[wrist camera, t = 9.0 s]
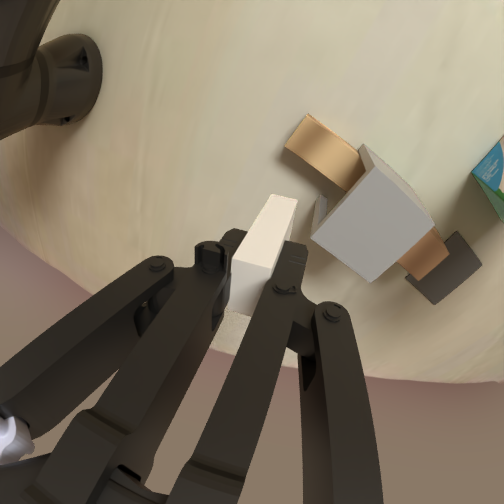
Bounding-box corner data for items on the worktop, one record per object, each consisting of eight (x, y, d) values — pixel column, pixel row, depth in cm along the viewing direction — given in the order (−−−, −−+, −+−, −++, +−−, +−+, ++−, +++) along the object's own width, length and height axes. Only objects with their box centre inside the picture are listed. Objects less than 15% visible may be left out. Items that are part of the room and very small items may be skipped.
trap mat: (405, 277, 35) (405, 278, 35) (456, 231, 30) (457, 231, 29) (434, 304, 36) (434, 305, 36) (482, 264, 30) (482, 264, 30)
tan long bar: (288, 140, 30) (284, 145, 28) (308, 113, 28) (306, 116, 26) (390, 221, 32) (394, 233, 30) (412, 200, 30) (418, 210, 28)
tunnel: (315, 200, 33) (310, 238, 26) (363, 143, 28) (375, 166, 21) (364, 238, 34) (370, 283, 27) (412, 188, 29) (435, 224, 22)
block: (384, 230, 33) (392, 257, 28) (411, 203, 30) (424, 226, 25) (409, 252, 33) (418, 281, 29) (435, 227, 30) (449, 254, 26)
